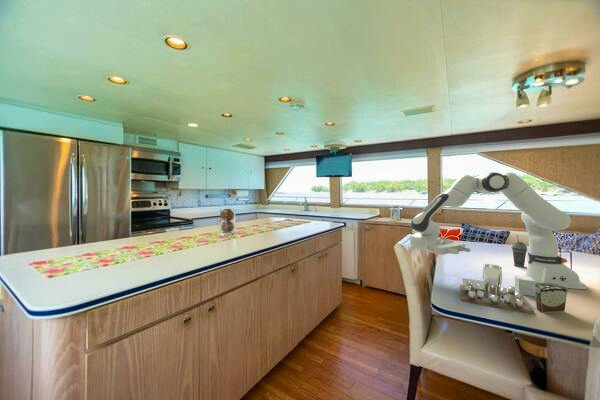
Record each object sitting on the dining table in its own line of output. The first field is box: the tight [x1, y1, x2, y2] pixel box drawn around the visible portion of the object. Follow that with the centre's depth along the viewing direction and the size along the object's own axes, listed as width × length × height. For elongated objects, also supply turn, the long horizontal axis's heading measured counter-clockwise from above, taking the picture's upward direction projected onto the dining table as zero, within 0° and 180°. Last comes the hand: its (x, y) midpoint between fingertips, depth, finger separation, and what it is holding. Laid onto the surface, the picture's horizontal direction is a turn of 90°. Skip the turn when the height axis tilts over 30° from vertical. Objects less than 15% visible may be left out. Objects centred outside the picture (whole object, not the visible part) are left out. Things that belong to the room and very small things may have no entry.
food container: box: [533, 282, 570, 314], centre depth 100 cm, size 12×6×10 cm, turn 92°
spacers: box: [465, 280, 523, 309], centre depth 110 cm, size 20×17×4 cm
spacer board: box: [459, 284, 534, 315], centre depth 110 cm, size 24×18×1 cm
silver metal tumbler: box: [482, 263, 503, 302], centre depth 110 cm, size 7×7×15 cm
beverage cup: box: [511, 234, 528, 268], centre depth 154 cm, size 7×7×20 cm
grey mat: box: [461, 277, 485, 288], centre depth 127 cm, size 13×12×1 cm
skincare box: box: [514, 275, 537, 297], centre depth 116 cm, size 6×6×7 cm
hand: (463, 251), depth 121 cm, fingers open, 8 cm apart
